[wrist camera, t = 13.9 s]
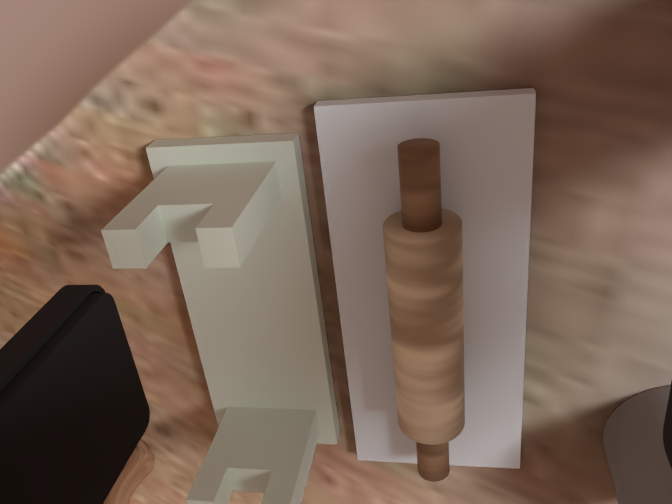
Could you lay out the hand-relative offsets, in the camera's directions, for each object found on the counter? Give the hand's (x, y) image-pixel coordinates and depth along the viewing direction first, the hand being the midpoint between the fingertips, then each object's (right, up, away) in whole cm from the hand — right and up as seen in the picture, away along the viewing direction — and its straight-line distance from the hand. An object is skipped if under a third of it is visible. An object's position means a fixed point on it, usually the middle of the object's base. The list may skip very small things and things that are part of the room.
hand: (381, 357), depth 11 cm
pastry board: (+6, -2, +35) cm, 36 cm away
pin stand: (-7, -2, +38) cm, 38 cm away
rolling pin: (+7, -2, +34) cm, 34 cm away
